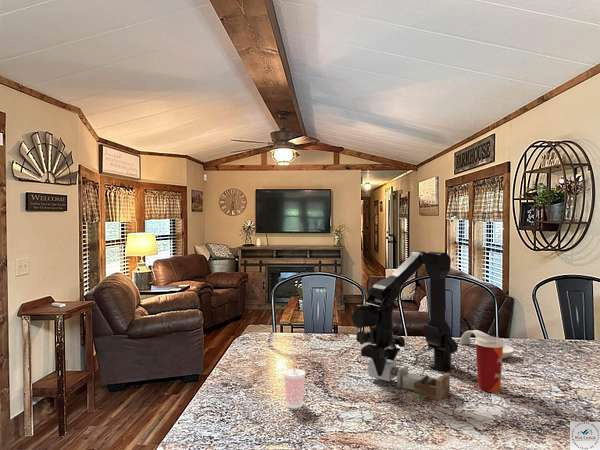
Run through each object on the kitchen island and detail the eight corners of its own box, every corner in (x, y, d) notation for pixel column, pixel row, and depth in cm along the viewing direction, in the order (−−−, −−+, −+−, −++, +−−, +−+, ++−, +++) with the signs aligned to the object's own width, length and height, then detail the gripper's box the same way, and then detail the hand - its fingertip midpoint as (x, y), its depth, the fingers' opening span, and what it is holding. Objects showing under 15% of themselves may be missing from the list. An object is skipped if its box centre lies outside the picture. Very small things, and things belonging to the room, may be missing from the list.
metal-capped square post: (405, 382, 140) (405, 366, 140) (434, 389, 134) (434, 373, 134) (394, 389, 134) (394, 373, 134) (424, 397, 128) (424, 380, 128)
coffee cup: (507, 394, 130) (507, 343, 130) (477, 392, 132) (477, 341, 131) (500, 384, 138) (500, 335, 138) (472, 382, 140) (472, 334, 140)
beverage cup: (284, 400, 127) (283, 350, 126) (305, 400, 126) (305, 350, 126) (282, 409, 121) (282, 357, 120) (305, 409, 120) (305, 357, 120)
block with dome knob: (376, 371, 145) (376, 355, 145) (400, 377, 140) (400, 360, 140) (368, 376, 141) (368, 358, 141) (393, 382, 136) (393, 364, 136)
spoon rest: (521, 359, 163) (521, 340, 163) (495, 363, 159) (496, 343, 159) (475, 343, 185) (475, 325, 185) (451, 345, 181) (451, 328, 181)
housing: (421, 385, 137) (421, 367, 137) (449, 392, 132) (449, 373, 132) (407, 396, 129) (407, 377, 129) (436, 403, 124) (436, 383, 124)
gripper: (375, 315, 153) (375, 361, 153) (346, 325, 138) (346, 376, 139) (405, 319, 146) (405, 367, 146) (378, 331, 131) (378, 384, 132)
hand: (383, 373), depth 141 cm, fingers closed on block with dome knob, 5 cm apart
